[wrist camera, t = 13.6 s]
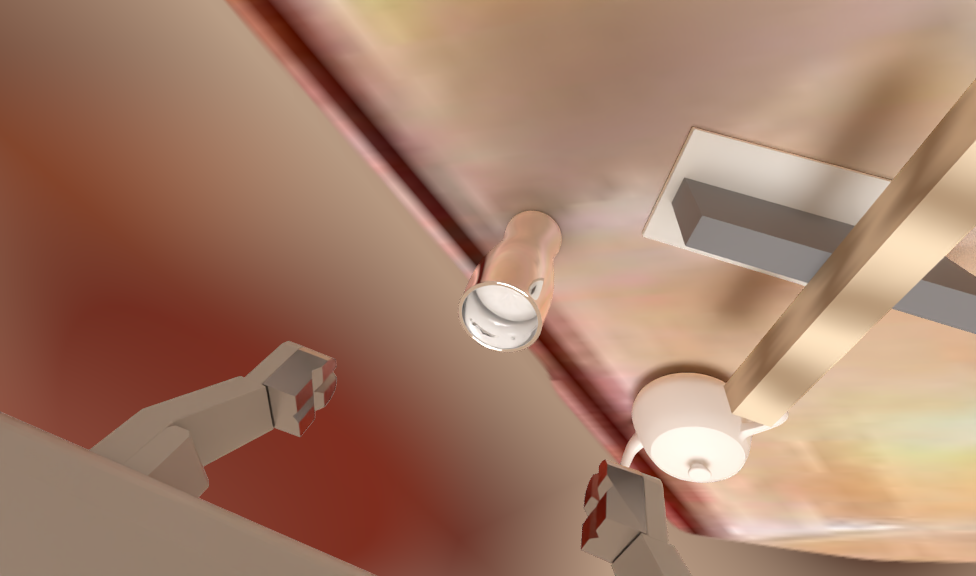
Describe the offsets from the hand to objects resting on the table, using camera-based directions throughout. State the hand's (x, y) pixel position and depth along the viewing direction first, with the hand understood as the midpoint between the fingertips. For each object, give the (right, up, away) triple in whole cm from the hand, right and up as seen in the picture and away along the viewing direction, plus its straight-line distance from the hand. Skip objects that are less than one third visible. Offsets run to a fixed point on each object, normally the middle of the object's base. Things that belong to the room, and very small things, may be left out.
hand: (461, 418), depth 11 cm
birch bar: (+24, +5, +15) cm, 29 cm away
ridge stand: (+27, +10, +23) cm, 37 cm away
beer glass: (+6, +9, +31) cm, 33 cm away
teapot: (+24, -10, +37) cm, 45 cm away
